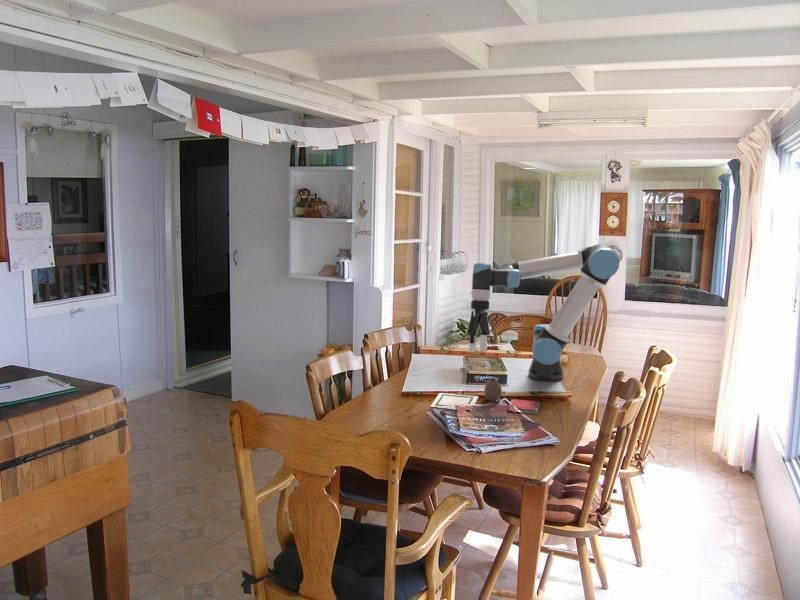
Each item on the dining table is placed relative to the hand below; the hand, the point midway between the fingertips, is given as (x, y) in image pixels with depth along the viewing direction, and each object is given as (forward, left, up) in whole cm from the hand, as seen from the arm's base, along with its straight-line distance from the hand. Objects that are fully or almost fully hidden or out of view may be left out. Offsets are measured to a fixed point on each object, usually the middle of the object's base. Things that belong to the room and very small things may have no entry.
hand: (477, 351), depth 285 cm
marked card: (+5, +21, -16) cm, 27 cm away
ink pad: (-22, +20, -16) cm, 33 cm away
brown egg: (-9, +14, -16) cm, 23 cm away
